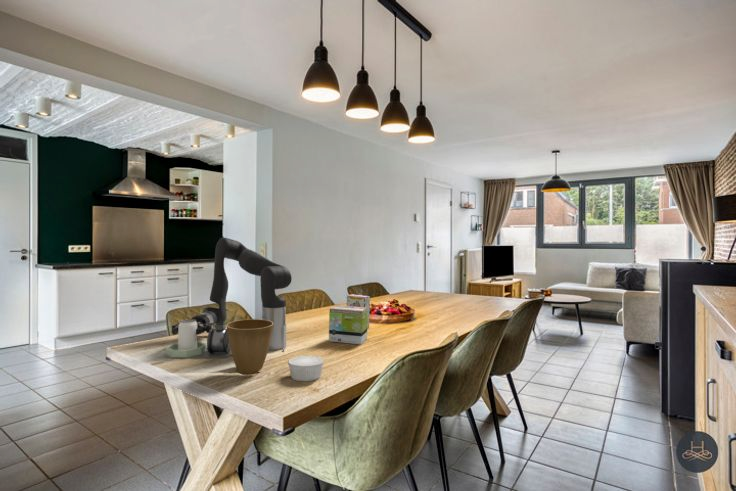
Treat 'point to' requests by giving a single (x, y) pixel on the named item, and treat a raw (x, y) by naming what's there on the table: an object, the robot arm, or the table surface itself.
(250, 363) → the plant pot
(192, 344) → the can
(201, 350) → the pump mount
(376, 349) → the table surface
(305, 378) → the ramekin
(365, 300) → the candy bar box
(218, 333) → the cylinder
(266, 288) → the robot arm
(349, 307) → the tea box
